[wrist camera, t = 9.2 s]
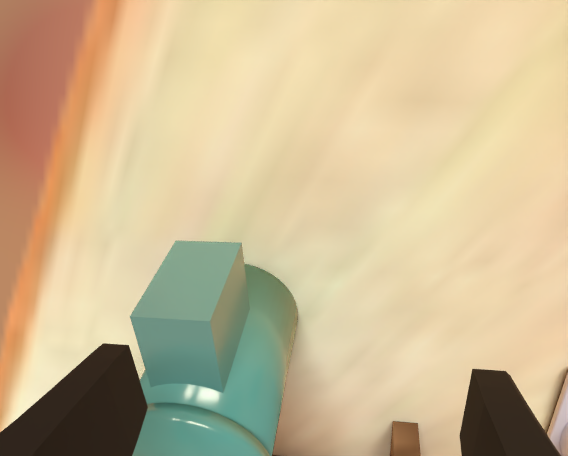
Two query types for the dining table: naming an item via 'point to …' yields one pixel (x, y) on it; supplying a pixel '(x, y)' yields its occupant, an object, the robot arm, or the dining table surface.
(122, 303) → the dining table surface
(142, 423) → the robot arm
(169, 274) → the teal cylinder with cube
